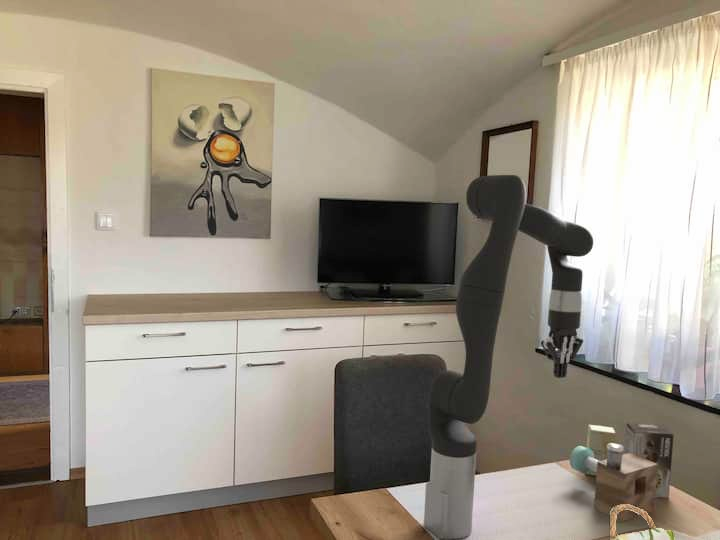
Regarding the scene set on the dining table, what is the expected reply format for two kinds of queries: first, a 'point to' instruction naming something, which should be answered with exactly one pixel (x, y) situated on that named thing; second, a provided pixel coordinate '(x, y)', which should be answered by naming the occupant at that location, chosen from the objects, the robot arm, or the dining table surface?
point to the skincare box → (599, 442)
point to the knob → (583, 460)
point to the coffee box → (652, 450)
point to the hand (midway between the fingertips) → (559, 376)
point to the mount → (626, 485)
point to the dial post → (614, 456)
